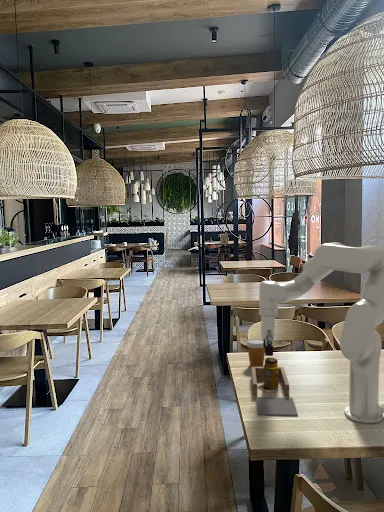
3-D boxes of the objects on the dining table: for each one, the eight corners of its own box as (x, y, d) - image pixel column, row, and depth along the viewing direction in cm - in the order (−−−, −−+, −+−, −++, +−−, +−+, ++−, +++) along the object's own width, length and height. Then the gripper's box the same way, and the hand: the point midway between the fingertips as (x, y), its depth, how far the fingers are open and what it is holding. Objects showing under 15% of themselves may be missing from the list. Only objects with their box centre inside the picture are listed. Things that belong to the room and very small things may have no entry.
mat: (292, 399, 161) (292, 397, 161) (297, 416, 147) (297, 414, 147) (256, 398, 162) (256, 397, 162) (257, 415, 148) (257, 413, 148)
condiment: (283, 388, 172) (282, 359, 171) (268, 393, 167) (267, 364, 166) (270, 382, 178) (270, 355, 177) (255, 387, 173) (255, 359, 172)
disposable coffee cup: (245, 362, 204) (245, 338, 203) (265, 362, 203) (265, 338, 202) (247, 369, 194) (247, 344, 193) (268, 369, 194) (267, 343, 193)
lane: (283, 378, 182) (283, 367, 182) (289, 397, 163) (289, 384, 162) (251, 377, 184) (251, 366, 183) (253, 396, 164) (253, 384, 164)
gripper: (258, 306, 179) (257, 344, 181) (260, 316, 162) (260, 358, 163) (275, 306, 178) (275, 345, 180) (280, 316, 161) (279, 359, 163)
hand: (268, 351), depth 172 cm, fingers open, 9 cm apart
